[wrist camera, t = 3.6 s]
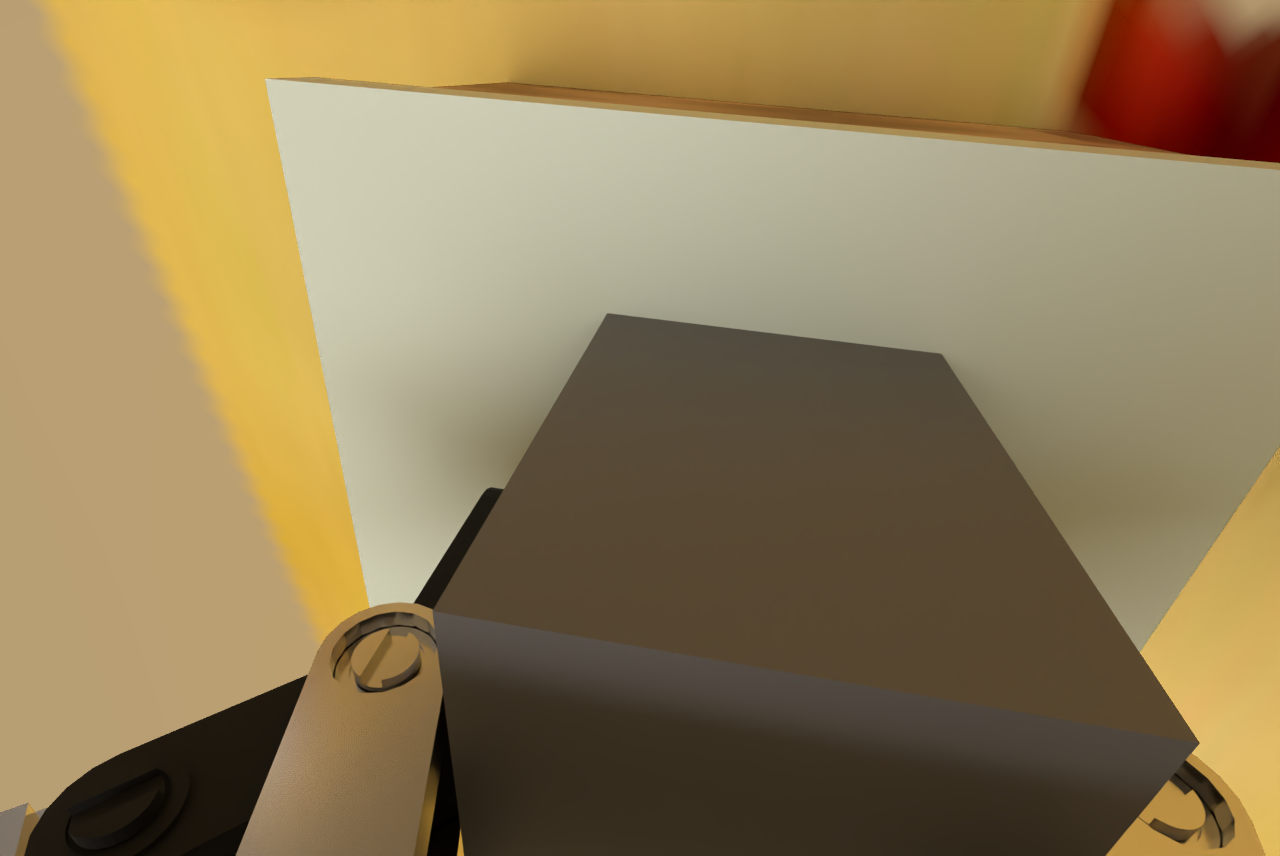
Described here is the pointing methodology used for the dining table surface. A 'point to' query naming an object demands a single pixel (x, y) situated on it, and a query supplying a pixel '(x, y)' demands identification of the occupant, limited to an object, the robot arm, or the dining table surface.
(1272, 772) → the dining table surface
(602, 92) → the wooden box
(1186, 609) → the dining table surface
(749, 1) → the dining table surface
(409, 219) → the lid
